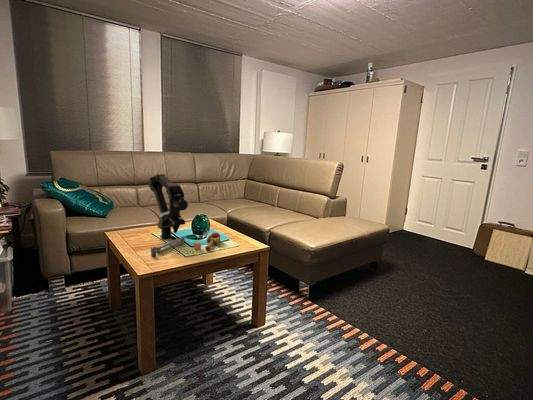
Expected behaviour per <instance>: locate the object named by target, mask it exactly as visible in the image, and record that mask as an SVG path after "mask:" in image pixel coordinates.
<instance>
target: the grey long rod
mask: <svg viewBox="0 0 533 400" xmlns="http://www.w3.org/2000/svg"><path fill="white" fill-rule="evenodd" d="M185 239H186V237H184V236H182V237H179V238H175V239H173V240H172V241H168V242H166V243H164V244H160V245H158V246H155V247H156V254H158V255H159V254H161V253H164V252H166V251H168V250H171V249H174V248H176V247H178V246H180V245H182V244H184V243H185V242H186V241H185Z"/></svg>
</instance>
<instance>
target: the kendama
mask: <svg viewBox="0 0 533 400" xmlns="http://www.w3.org/2000/svg"><path fill="white" fill-rule="evenodd" d="M220 242H221V234H220V233H218V232H212V233H211V234H210V235H208V236H207V238H206V243H207V245H206V246H205V251H206V252H210V251H211V250H212V247H213V245H214V244H215V245H216V246H219V245H220Z"/></svg>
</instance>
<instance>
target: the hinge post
mask: <svg viewBox="0 0 533 400" xmlns="http://www.w3.org/2000/svg"><path fill="white" fill-rule="evenodd" d="M156 247H157V246H151V247H150V256H151V257H152V258H155V257H157V253H156Z"/></svg>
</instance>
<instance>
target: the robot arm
mask: <svg viewBox="0 0 533 400" xmlns="http://www.w3.org/2000/svg"><path fill="white" fill-rule="evenodd" d="M147 185H148V187H149V189H150V190H151V191H152V192H153V194H154V196H155V199H156V204H157V206H158V209H159V213H160V214H159V215H158V216H159V218H158V219H159V221H158V222H157V228H158V229H160V231H161V233H160V235H159V237H160V238H161V239H162V240H163V239H164V240H165V239H171V238H174V236H173V234H172V231H173V233H174V234H176V233H178V231H179V228H180V226H183V225H186V220H185V219H184V218H183V217H182V215H181V211H186V209H187V208H188V207H189V203H188V201H187V200H185V193H184V191H183V189H182V187H181V185H180V184H178V183H174V182H172V181H171V180H170V178H168V177H166V175H165V174H163V173H157V174H155V175H154V176H152V177H150V178H149V179H148V180H147ZM163 188H164V189H166V191H165V192H166V194H167V195H168V197H167V199H169V200H168V201H169V202H168V203H169V207H168V206H167V201H166V199H165V195H164V192H163ZM172 229H173V230H172Z"/></svg>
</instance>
